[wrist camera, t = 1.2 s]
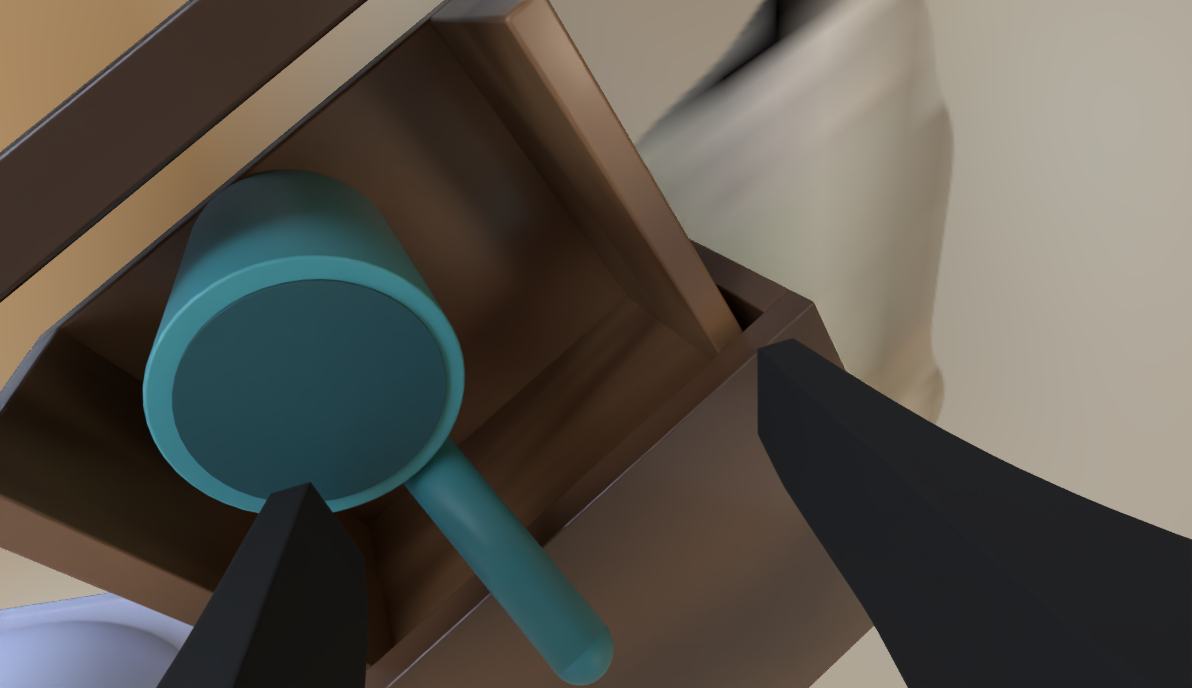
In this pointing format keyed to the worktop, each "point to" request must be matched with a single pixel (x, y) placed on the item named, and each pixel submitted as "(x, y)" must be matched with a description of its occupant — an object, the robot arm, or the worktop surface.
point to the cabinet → (673, 545)
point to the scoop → (338, 389)
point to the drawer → (428, 235)
